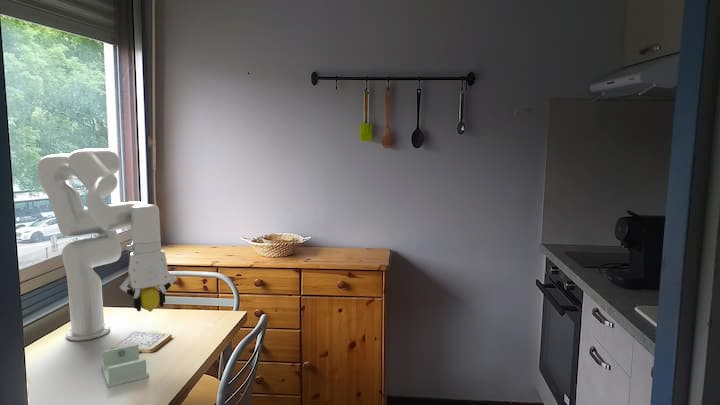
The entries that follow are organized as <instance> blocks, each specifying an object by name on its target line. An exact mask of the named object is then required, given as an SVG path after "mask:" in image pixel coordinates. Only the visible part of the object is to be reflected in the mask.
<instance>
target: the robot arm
mask: <svg viewBox="0 0 720 405" xmlns="http://www.w3.org/2000/svg"><path fill="white" fill-rule="evenodd" d="M120 166H121V164H120V159H119V156H118V154H116V153H115V152H114V151H113V150H111V149H109V148H83V149H82V148H81V149H77V150H74V151H73V152H71V153H57V154H49V155H46V156H44V157H42V158H41V159H39V161H38V164H37V167H36V168H37V170H36V171H37V178H38V181H39V183H40V186H41V188H42V189H43V191H44V192H45V194H46V197H48V199H49V201H50V204H51V208H52V211H53V215H54V217H55V221H56V224H57V227H58V230H59V231H60V234H61V235H62V236H63V237H65V238H70V239H71V238H79V237H85V236H90V235H91V236H92V235H95V237H89V238H84V239H79V240H78V239H77V240H74V241H72V242H69V243H67V244H66V245H65V246H64V247H63V248H62V251H61V258H62V263H63V265H64V266H63V267H64V269H65V274H66V279H67V280H66V281H67V290H68V305H69V316H70V317H69V320H70V329H69V330H67V331H66V333H65V336H66V337H65V338H66V339H68V340H70V341H77V342H80V341H88V340H89V341H90V340H94V339H96V338H97V339H98V338H100V337H102V336H105V335H106V334H108V333H109V332H110V330H111V329H110V328H111V327H110V325H109V324H108V323H105V317H104V303H103V300H104V299H103V287H102V280H101V277H100V276H99V274H98V273H97V272H96V271H95V270H94V268H96V267H100V266H103V265H108V264H112V263H115V262H118V260H119V259H120V258H121V256H122V245H121V242H120V239H119V235H118V232H117V231H118V230H123V229H124V230H125V229H129V228H130V230H131V244H130V245H126V251H131V252H130V254H129V258H128V259H129V260H128V274H127V275H128V276H127V277H126V278H125V279H124V281H123V282H122V283H121V284H120V286H119V288H120V289H121V291H123V292H125V293H127V294H128V295H129V296H131V297H133V308H134V309H136V311H137V312H138V313H140V312H141V311H142V307H141V301H140V297H139V296H140V292H141V290H142V289H143V288H149V287H155V288H156V287H158V292H159V295H160V302H159V304H158V306H159V307H161V308H164V306H165V305H164V303H166V293H167V291H168V290H169V289H170V288H171V286H172V285H173V284H174V283H175V282H176V280H177V278H176V277H175V276H173V274H171V273H170V272H169V269H168V261H167V256H166V252H165V250H163V249H162V243H161V240H162V239H161V222H160V221H161V220H160V219H161V218H160V209H159V206H158V205H156V204H151V203H146V202H143V201H140V200H139V201H127V202H125V201H124V202H117V203H110V204H108V203H107V202H105V200H103V199H104V198H106V197H107V196H109V195H110V194H111V193H113V192H114V190H115V189H116V188H117V186H118V178H117V177H116V175H115V174H116V173H117V172H118V171H119V169H120ZM71 180H74V181H75V180H79V182H80V183H81V184H82V185H83V186H84V187H85V189H86V190H87V193H86V196H85V205H84V203H83V201H82V198H81V196H80V193H79V191H78V190H76V189H75V187H74V186H72V185H71V184H69V183H68V182H67V181H71ZM129 285H130V287H131V288H132V289H131V288H129V287H128V286H129Z"/></svg>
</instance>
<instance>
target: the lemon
mask: <svg viewBox="0 0 720 405" xmlns="http://www.w3.org/2000/svg"><path fill="white" fill-rule="evenodd" d="M139 297H140V301H141V309H143V310H144V311H145V310H146V311H147V312H149V313H150V312H152V311H153V310H154V309H156V308H157V307H158V306H159V302H160V295H159V289H158V288H157V287H156V286H155V287H149V288H143V289H141V290H140V293H139Z"/></svg>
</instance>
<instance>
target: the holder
mask: <svg viewBox="0 0 720 405" xmlns="http://www.w3.org/2000/svg"><path fill="white" fill-rule="evenodd" d="M102 357H103V358H102V359H103V364H101V369H102V372H103V377H104V380H105V383H106V387H107V388H111V387H115V386H118V385H124V384H127V383H130V382H134V381H138V380H143V379H146V378H149V376H150V375H149V372H148V369H147V359H146V357H145V358H142V357H141V356H140V351H139V343H133V344H129V345H128V344H127V345H124V346H119V347H113V348H110V349H105V350H102Z"/></svg>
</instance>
